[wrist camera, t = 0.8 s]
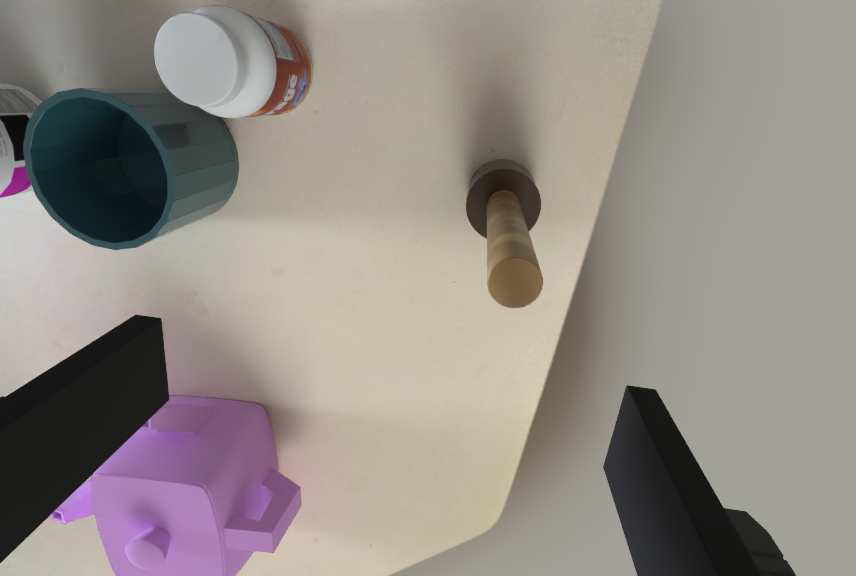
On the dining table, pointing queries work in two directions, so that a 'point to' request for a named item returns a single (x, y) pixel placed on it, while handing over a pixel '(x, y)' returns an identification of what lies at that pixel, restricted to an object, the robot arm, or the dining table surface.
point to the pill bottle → (232, 63)
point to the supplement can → (14, 138)
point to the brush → (507, 230)
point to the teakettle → (189, 492)
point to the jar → (127, 163)
